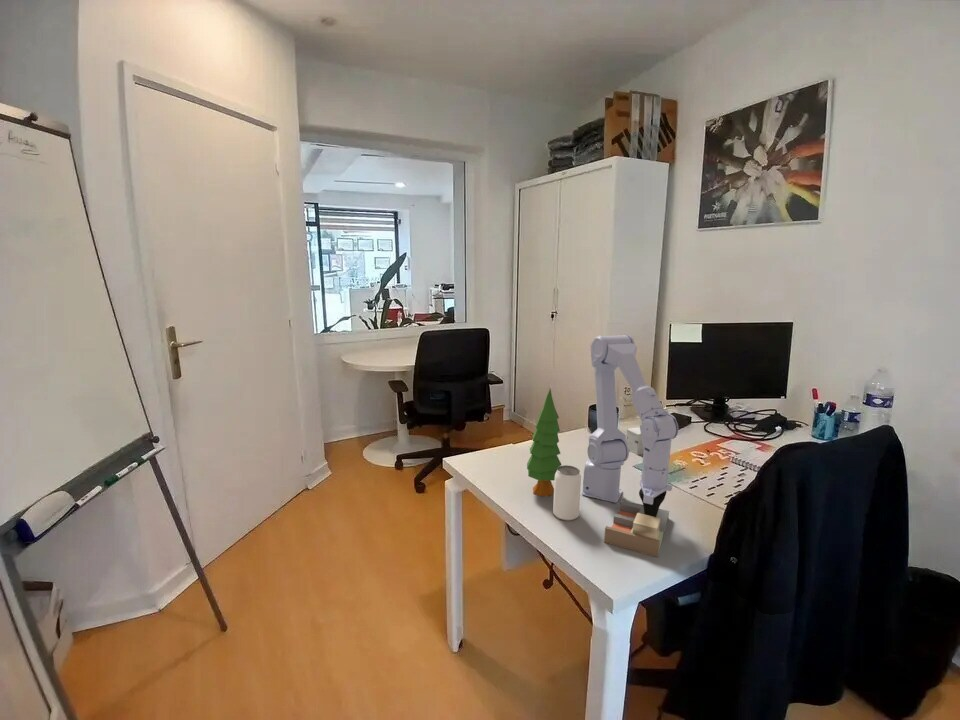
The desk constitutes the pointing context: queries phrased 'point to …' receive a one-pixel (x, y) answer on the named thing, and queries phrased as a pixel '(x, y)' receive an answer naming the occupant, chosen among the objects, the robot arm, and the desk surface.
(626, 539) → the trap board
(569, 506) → the can
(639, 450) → the skincare box
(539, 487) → the decorative tree
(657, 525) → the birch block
